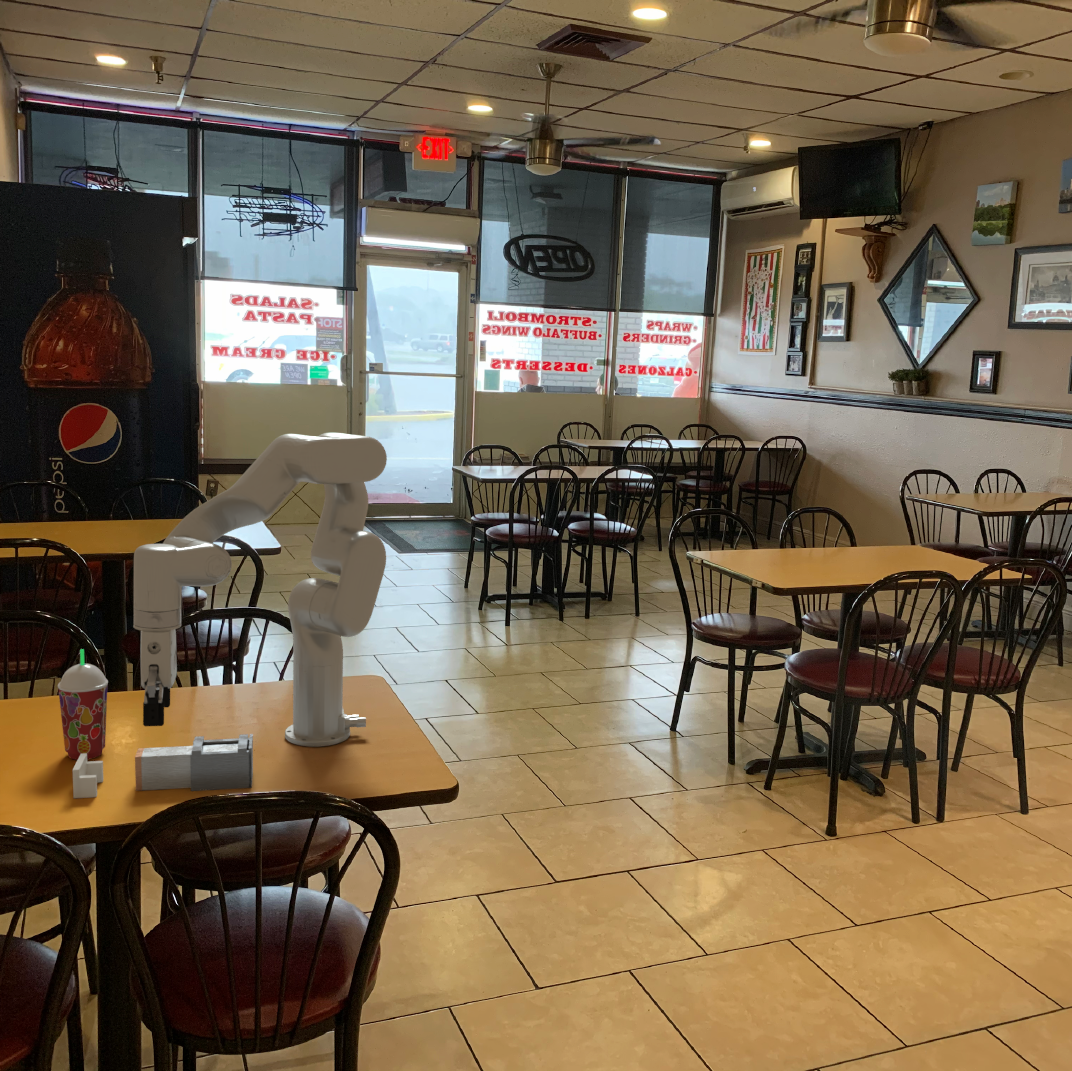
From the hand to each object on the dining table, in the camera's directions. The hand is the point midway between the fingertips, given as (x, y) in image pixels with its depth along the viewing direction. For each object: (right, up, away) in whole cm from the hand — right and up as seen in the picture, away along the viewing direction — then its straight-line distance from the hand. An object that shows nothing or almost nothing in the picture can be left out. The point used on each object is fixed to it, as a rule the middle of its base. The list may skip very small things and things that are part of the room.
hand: (157, 715), depth 174 cm
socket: (-11, -12, 0) cm, 17 cm away
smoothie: (-18, -10, +14) cm, 25 cm away
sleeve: (+10, -12, +5) cm, 16 cm away
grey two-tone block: (+5, -12, +4) cm, 14 cm away
